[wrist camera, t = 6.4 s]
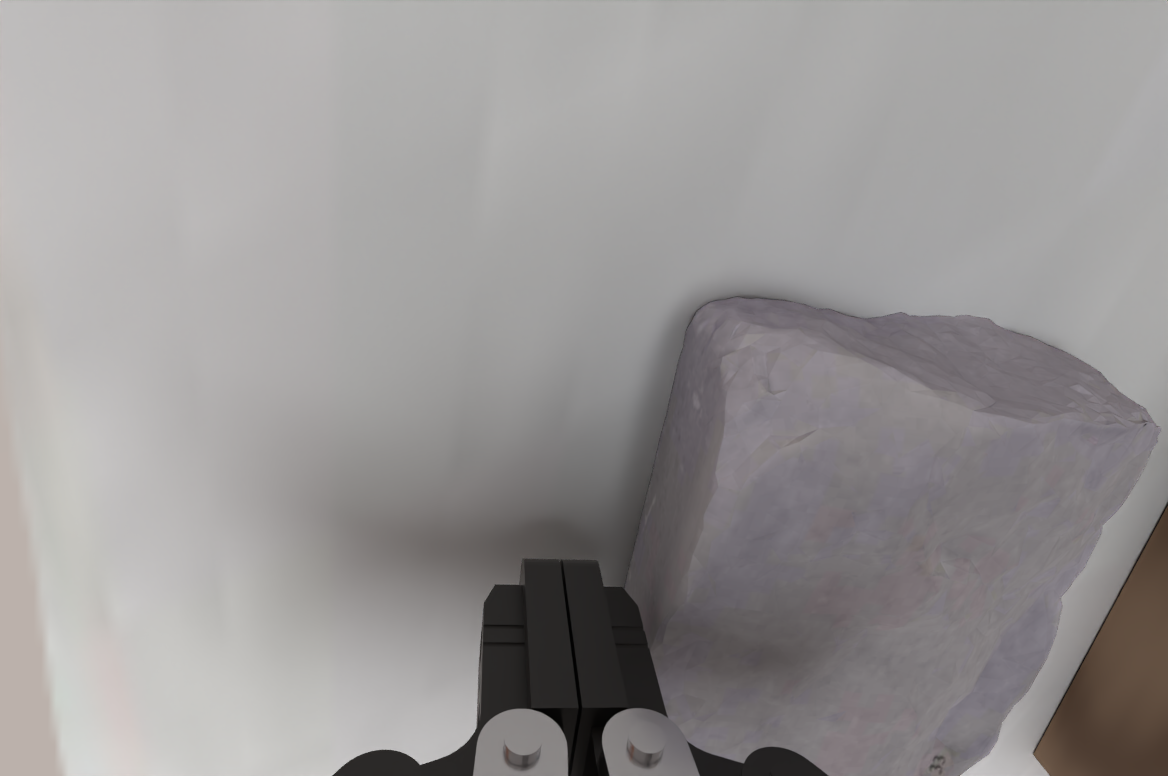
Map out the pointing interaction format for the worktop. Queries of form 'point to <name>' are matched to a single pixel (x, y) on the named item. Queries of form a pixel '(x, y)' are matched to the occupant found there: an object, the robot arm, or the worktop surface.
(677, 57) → the worktop surface
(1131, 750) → the walnut wall board
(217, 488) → the worktop surface
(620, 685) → the robot arm
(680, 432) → the stone block
